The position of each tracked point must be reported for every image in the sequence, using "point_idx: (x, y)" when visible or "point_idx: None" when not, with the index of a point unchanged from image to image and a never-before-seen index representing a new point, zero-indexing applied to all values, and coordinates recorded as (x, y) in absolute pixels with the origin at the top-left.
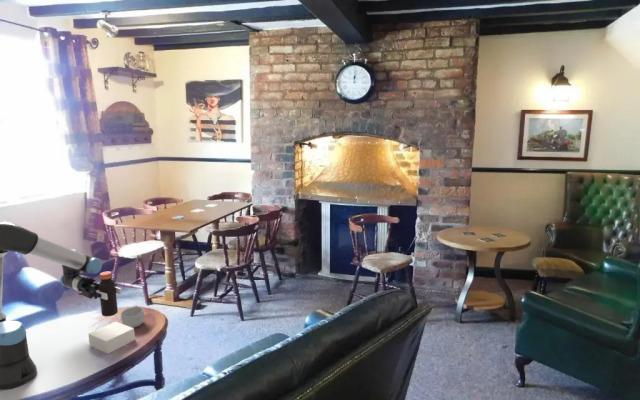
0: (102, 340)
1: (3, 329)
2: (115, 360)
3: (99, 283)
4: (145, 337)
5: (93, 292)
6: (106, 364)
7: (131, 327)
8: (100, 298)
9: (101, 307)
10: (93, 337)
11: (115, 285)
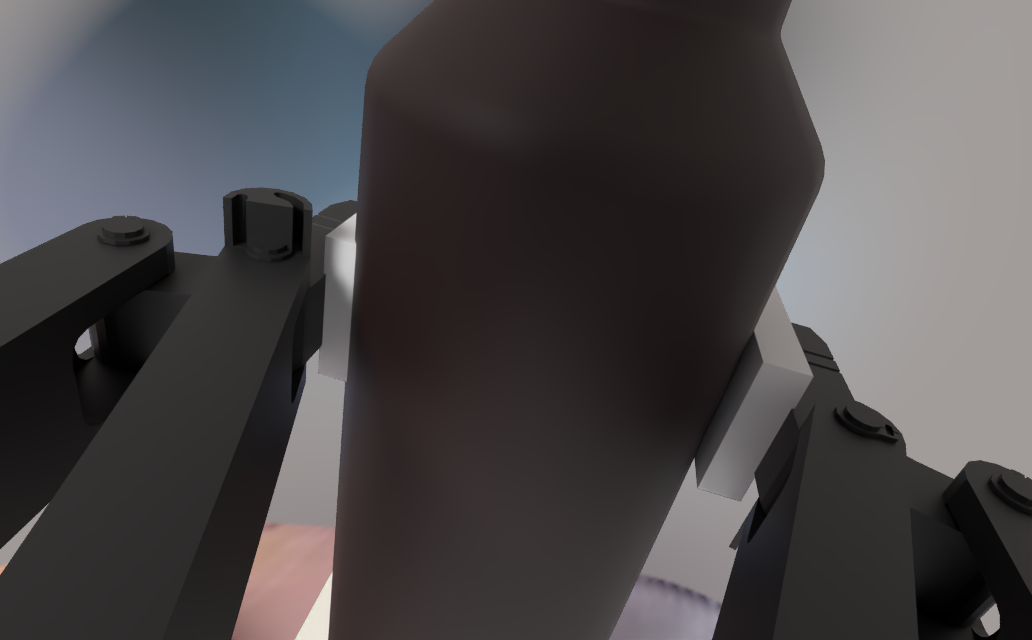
0: None
1: None
2: (630, 602)
3: (790, 136)
4: (279, 581)
5: (899, 462)
6: (693, 630)
7: (316, 604)
8: (675, 494)
9: (612, 629)
10: None
11: (200, 257)
